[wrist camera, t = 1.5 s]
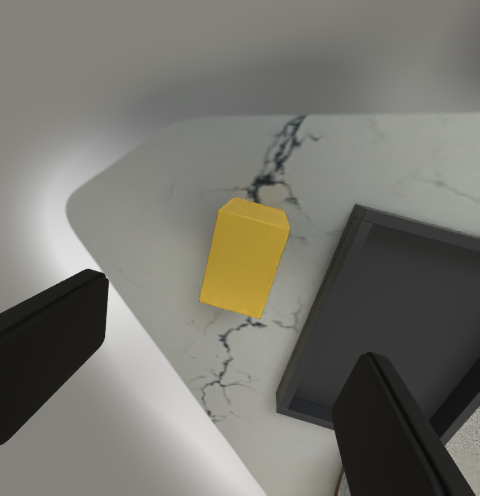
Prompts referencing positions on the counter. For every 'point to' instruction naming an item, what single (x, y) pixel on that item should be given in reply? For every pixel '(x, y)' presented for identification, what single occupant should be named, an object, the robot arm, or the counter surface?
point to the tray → (393, 320)
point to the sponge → (244, 256)
